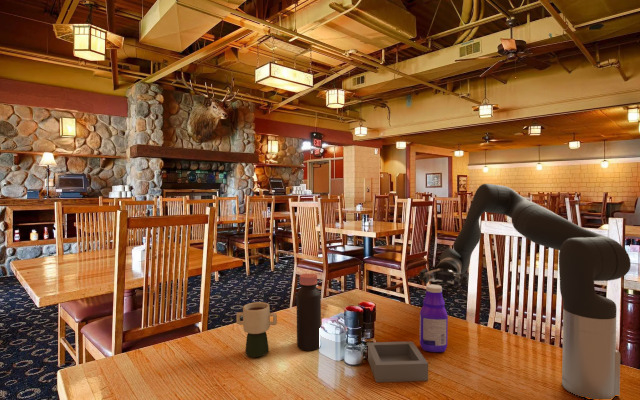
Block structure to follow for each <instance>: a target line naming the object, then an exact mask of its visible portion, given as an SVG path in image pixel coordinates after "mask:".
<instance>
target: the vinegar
mask: <svg viewBox="0 0 640 400" xmlns="http://www.w3.org/2000/svg"><path fill="white" fill-rule="evenodd" d="M317 285H318V275H317V274H316V273H302V274H300V275H299V286H300V288H299V289H298V291H297V292H296V295H295V296H296V297H295V298H296V299H295V300H296V346H297V348H298V349H299V350H301V351H304V352H305V351H306V352H311V351H316V350H318V349H320V348H319V328H320V327H321V328H322V307H321V306H322V304H321V303H322V298H321V296H322V294H321V292H320V291H319V289H318V288H317Z"/></svg>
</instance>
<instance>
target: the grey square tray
mask: <svg viewBox="0 0 640 400" xmlns="http://www.w3.org/2000/svg"><path fill="white" fill-rule="evenodd" d="M367 346H368V359H367V361H368V363H369V366H370V369H371V372H372V375H373V377H374V380H375V383H398V382H400V383H401V382H428V381H429V363H428V361H427V360H426V358H425V357H424V355H423V354H422V352H421V351H420V349H419V348H418V347H417V345H416V343H414V341H413V340H412V341H383V342H381V341H379V342H377V341H375V342H372V341H371V342H366V347H367Z"/></svg>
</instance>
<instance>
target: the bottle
mask: <svg viewBox="0 0 640 400" xmlns="http://www.w3.org/2000/svg"><path fill="white" fill-rule="evenodd" d="M422 303H423V305H422V307H421V309H420V311H419V345H420V347H421V349H422V350H423V351H426V352H433V353H443V352H445V351H446V350H447V347H448V324H449V323H448V322H449V320H448V319H449V317H448V316H449V315H448V313H447V309H446V307H445V304H446V302H445V300H444V297H443V287H442V285H440V284H439V285H438V284H432V283H431V284H430V283H429V284H427V285H426V289H425V296H424V298H423V300H422Z"/></svg>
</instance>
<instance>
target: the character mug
mask: <svg viewBox="0 0 640 400" xmlns="http://www.w3.org/2000/svg"><path fill="white" fill-rule="evenodd" d="M241 317H242V320H241ZM271 317H272V321H271V319H270V318H271ZM277 321H278V317H277V313H276V312H271V311H270V304H269V303H267V302H262V301H255V302H251V303H247V304H244V305H243V307H242V311H241V312H239V311H238V312H237V313H236V324H237V325H242V328H243V332H245V333H247V334H246V341H245V342H246V343H245V355H246V356H249V357H251V358H258V357H262V356H265V355H267V354H268V352H269V341H268V334H267V332H268V330H269V329H270V326H276V325H277V323H278V322H277Z"/></svg>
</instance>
